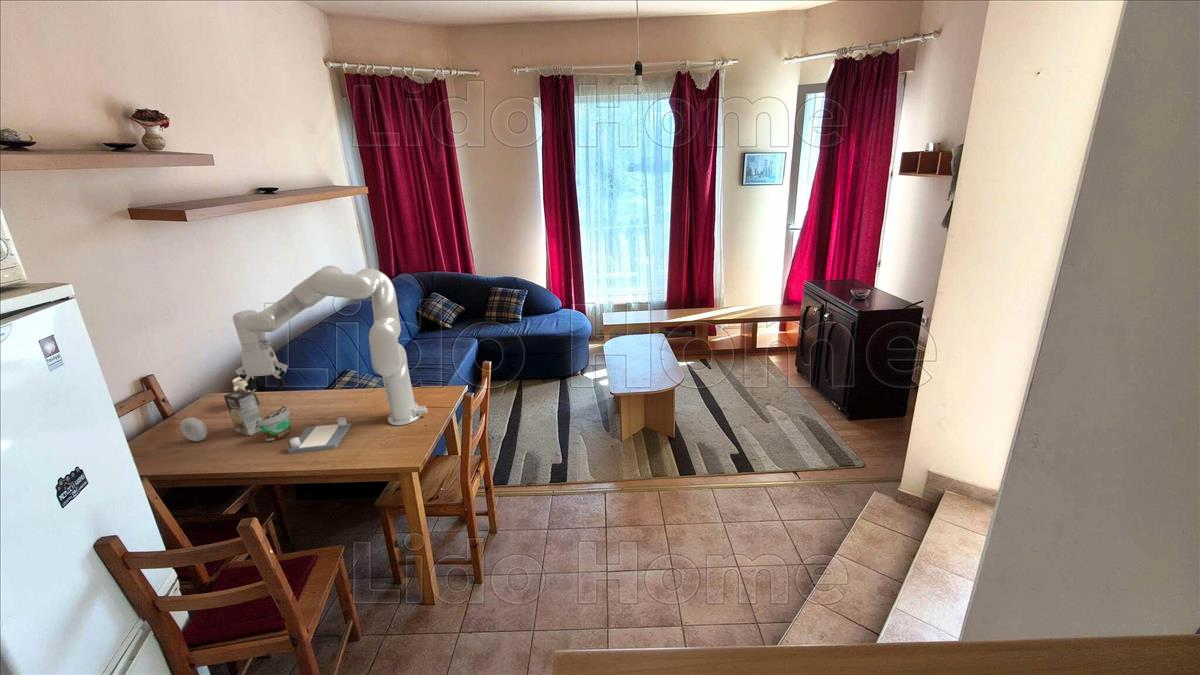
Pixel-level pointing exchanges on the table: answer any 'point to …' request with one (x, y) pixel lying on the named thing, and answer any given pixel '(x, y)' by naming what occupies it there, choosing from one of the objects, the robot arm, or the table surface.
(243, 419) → the coffee box
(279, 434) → the food container
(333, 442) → the board
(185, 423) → the donut
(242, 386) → the character mug
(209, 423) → the table surface
